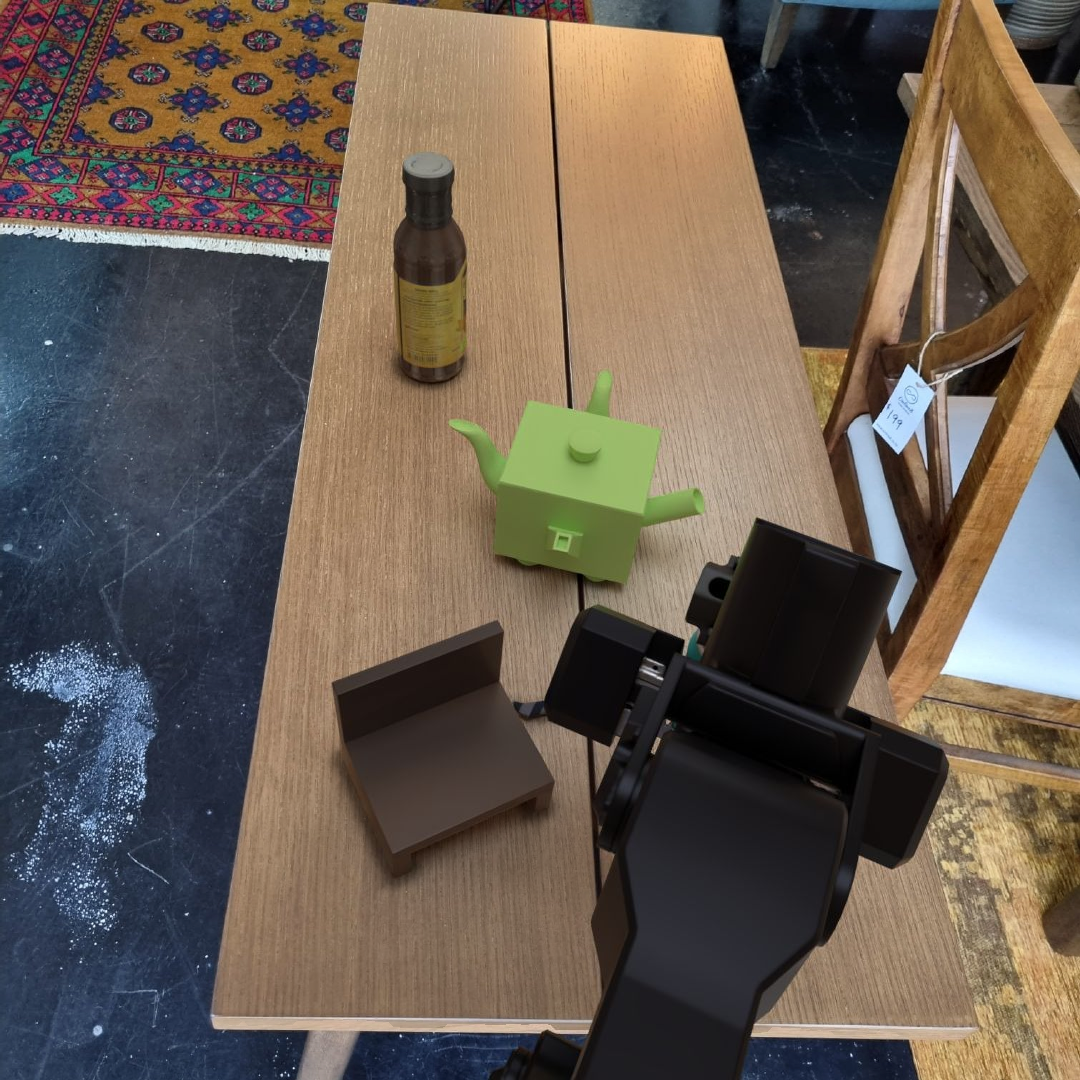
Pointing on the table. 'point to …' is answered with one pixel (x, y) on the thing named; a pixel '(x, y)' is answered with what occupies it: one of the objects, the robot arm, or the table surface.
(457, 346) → the sauce bottle
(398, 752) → the brown toy chair
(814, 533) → the table surface
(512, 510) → the kettle
